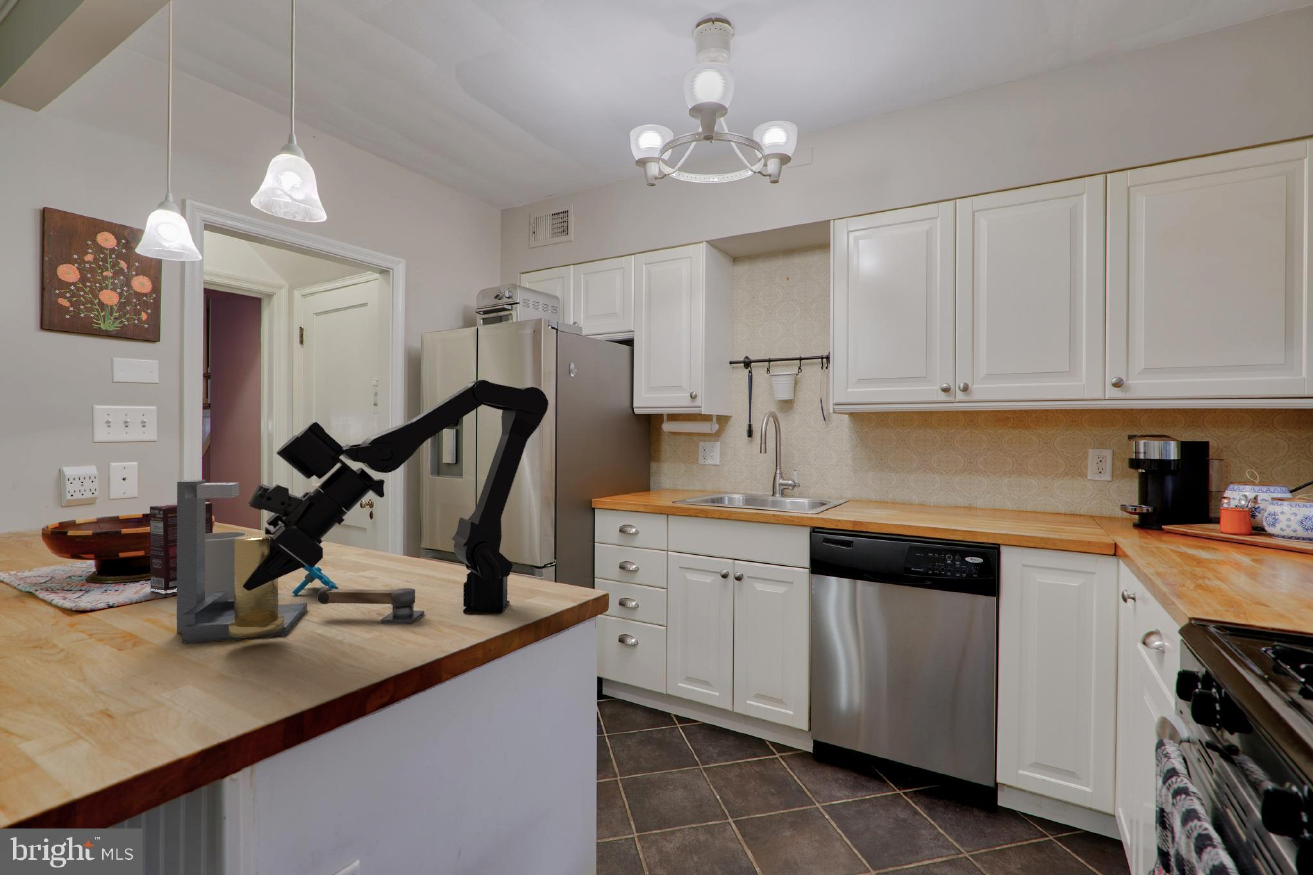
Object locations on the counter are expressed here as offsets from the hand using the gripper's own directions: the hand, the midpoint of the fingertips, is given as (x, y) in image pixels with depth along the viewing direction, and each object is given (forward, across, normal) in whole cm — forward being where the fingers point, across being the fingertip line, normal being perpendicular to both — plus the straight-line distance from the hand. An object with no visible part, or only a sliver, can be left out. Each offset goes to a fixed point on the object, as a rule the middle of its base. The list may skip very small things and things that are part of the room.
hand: (244, 584), depth 87 cm
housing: (+4, 0, +6) cm, 7 cm away
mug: (+7, -32, +6) cm, 33 cm away
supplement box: (+12, -42, 0) cm, 44 cm away
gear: (-2, -27, +15) cm, 31 cm away
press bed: (+6, -11, +6) cm, 14 cm away
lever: (-7, -5, +17) cm, 19 cm away
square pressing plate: (-9, -2, +22) cm, 23 cm away
